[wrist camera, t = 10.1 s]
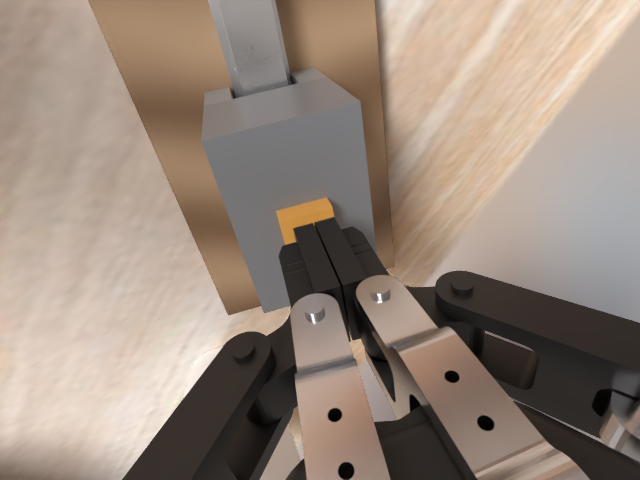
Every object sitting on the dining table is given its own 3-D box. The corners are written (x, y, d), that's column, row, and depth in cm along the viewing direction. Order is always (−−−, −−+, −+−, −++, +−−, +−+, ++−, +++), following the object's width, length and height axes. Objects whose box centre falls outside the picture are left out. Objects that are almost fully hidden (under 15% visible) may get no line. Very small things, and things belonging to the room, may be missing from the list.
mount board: (-29, -285, 12) (-50, -310, 11) (337, -333, 13) (347, -359, 12) (227, 303, 27) (228, 315, 26) (388, 256, 28) (394, 266, 27)
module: (204, 92, 18) (200, 148, 12) (313, 67, 19) (368, 107, 12) (250, 230, 23) (266, 326, 16) (337, 206, 23) (385, 290, 17)
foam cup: (295, 326, 30) (341, 513, 19) (282, 402, 34) (313, 585, 24) (163, 333, 27) (131, 556, 16) (169, 414, 32) (147, 627, 21)
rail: (120, -303, 12) (104, -351, 10) (210, -315, 12) (209, -363, 10) (292, 290, 26) (297, 310, 24) (331, 279, 26) (339, 298, 25)
